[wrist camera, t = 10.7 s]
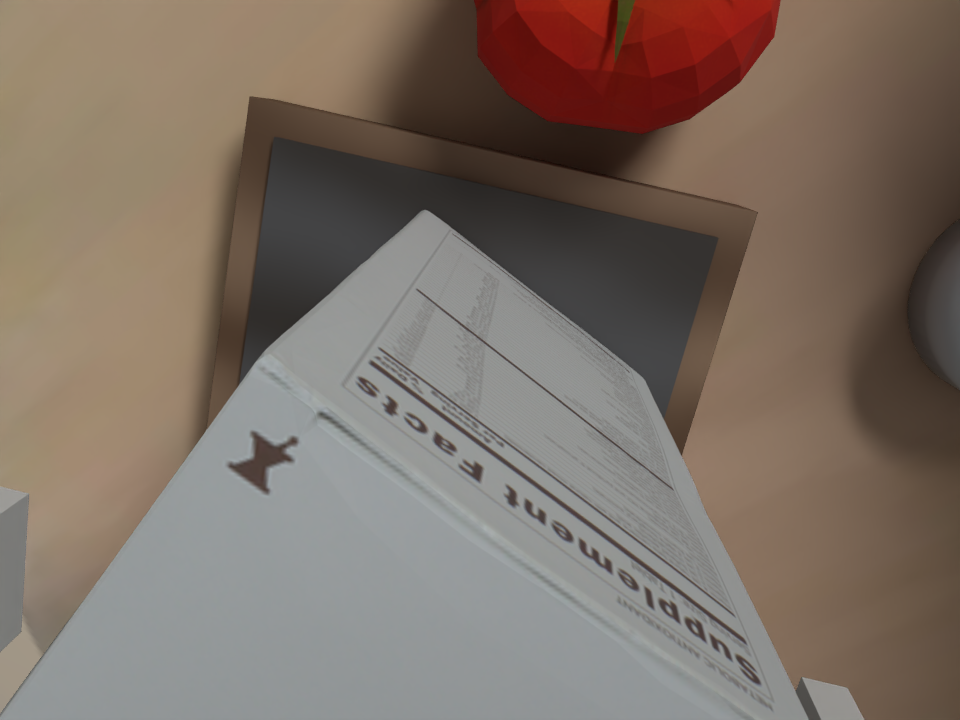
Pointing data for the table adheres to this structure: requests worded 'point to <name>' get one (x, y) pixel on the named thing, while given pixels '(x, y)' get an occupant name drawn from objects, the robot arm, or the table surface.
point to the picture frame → (476, 241)
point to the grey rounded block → (938, 307)
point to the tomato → (621, 56)
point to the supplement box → (423, 532)
